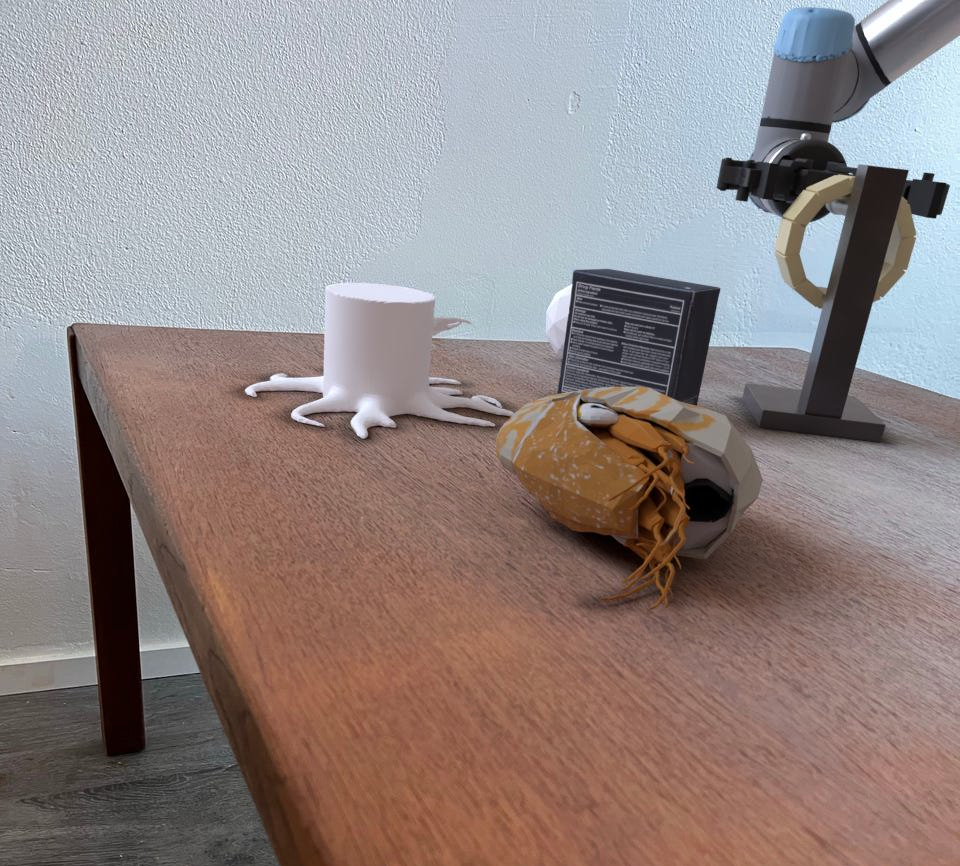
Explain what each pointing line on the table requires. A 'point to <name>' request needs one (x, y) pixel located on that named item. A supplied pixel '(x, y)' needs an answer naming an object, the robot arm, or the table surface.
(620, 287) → the small box
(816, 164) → the robot arm
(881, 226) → the tape stand
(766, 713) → the table surface
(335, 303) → the tree stump
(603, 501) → the nautilus
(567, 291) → the geometric ball
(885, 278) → the tape roll
